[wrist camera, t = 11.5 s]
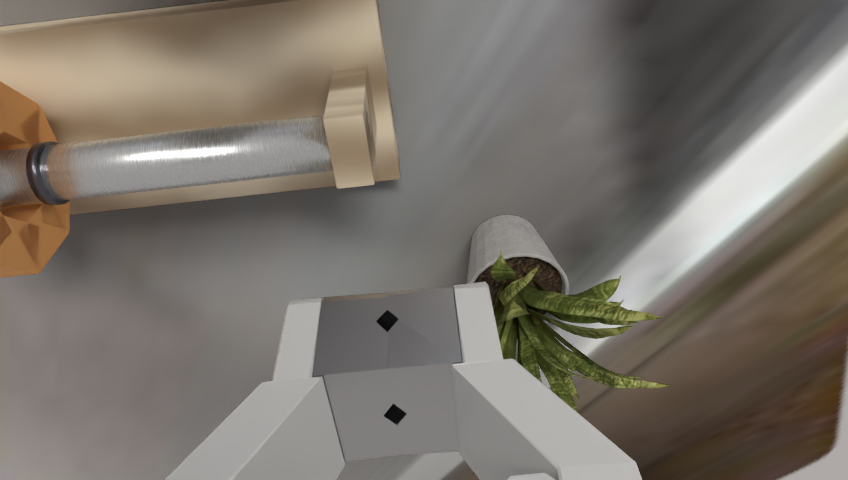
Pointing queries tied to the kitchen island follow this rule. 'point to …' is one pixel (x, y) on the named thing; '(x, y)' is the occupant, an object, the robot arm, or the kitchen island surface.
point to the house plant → (545, 306)
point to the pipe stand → (214, 83)
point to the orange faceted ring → (33, 223)
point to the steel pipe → (163, 161)
